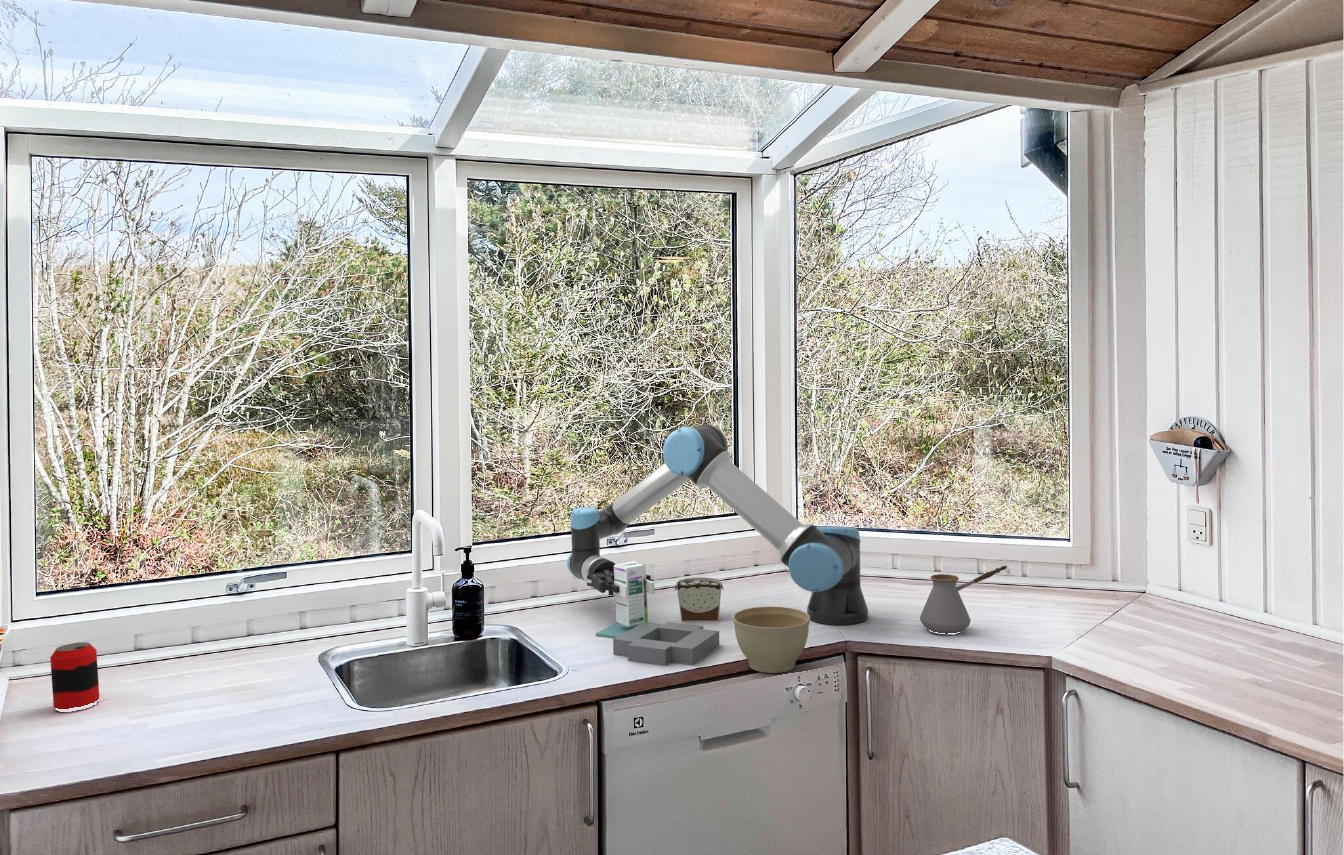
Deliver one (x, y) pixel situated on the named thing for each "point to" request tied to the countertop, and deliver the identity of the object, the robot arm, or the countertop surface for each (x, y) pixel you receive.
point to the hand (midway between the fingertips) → (640, 590)
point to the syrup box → (631, 594)
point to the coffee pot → (948, 604)
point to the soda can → (74, 675)
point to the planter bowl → (771, 637)
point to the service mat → (615, 630)
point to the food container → (699, 599)
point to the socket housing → (666, 643)
